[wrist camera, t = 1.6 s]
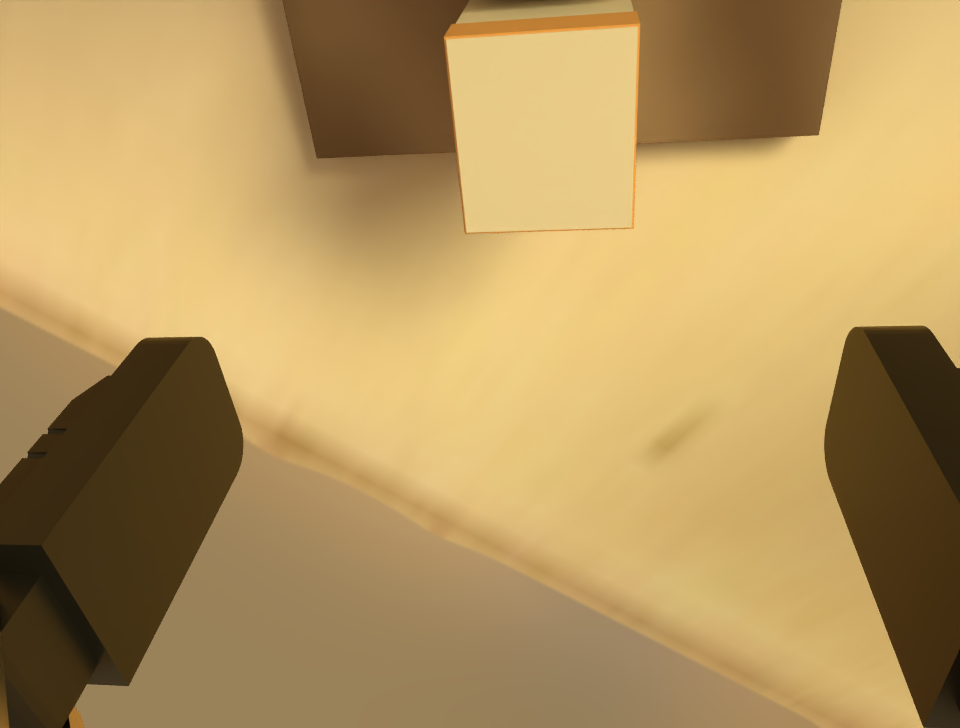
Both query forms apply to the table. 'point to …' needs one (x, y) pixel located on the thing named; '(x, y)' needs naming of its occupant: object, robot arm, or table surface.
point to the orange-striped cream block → (545, 113)
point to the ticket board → (661, 84)
